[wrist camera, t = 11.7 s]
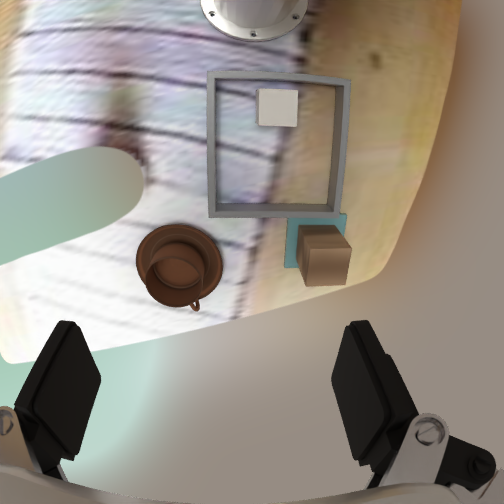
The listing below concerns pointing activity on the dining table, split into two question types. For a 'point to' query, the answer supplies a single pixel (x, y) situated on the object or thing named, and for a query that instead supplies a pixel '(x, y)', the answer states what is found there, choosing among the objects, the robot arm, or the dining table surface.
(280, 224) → the dining table surface
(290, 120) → the pale grey block
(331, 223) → the pad
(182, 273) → the cup and saucer
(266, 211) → the grey square frame
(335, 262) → the walnut block
